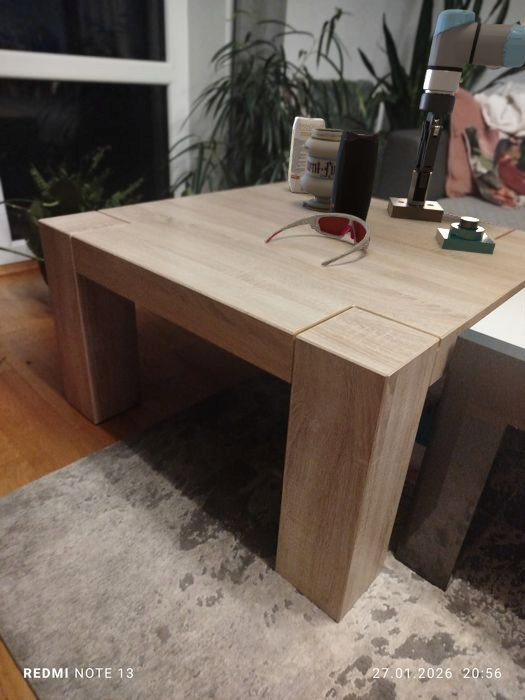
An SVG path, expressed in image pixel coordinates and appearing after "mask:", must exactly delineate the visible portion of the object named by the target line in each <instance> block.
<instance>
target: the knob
mask: <svg viewBox="0 0 525 700" xmlns="http://www.w3.org/2000/svg"><path fill="white" fill-rule="evenodd" d="M417 175H418V173H416V170H415V169H414V170H412V176H411V179H410V184H409V188H408V189H409V191H408V194H407V198H406V199H407V203H409V204H413V205H425V202H426V201H427V196H428V193H429V188H430V184H431V179H432V175H433V172H431V173H430V177H429V181H428V186H427V190H426V195H425V199H424V202H420V201H412V199H413V194H414V189H415V185H416V180H417Z"/></svg>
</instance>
